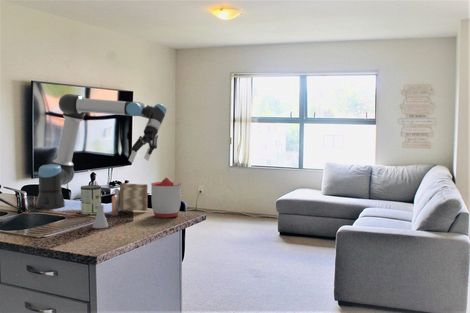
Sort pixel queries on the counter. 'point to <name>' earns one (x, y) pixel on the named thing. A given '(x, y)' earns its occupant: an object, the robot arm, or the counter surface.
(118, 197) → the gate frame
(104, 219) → the flask
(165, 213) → the citrus juicer
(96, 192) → the coffee can
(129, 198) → the brown beige flat square
